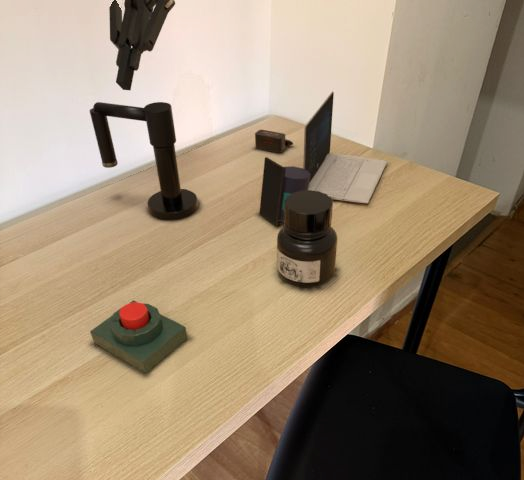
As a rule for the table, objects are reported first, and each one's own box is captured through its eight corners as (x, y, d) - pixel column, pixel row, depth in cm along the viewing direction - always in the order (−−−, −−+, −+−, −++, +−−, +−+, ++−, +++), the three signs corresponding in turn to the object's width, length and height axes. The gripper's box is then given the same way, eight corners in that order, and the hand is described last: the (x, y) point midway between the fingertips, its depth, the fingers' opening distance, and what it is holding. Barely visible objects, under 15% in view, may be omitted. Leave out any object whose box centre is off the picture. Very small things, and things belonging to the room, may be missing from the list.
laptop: (367, 206, 96) (376, 135, 87) (301, 196, 100) (303, 126, 91) (387, 164, 108) (396, 97, 99) (327, 155, 112) (331, 90, 103)
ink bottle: (264, 270, 83) (261, 200, 75) (303, 247, 87) (305, 179, 79) (309, 298, 78) (312, 226, 70) (348, 272, 82) (355, 202, 74)
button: (116, 323, 70) (113, 313, 68) (136, 308, 72) (133, 298, 70) (135, 333, 68) (132, 323, 67) (155, 318, 70) (152, 308, 69)
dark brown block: (284, 154, 113) (284, 139, 110) (254, 148, 115) (253, 134, 113) (293, 146, 116) (293, 131, 113) (264, 140, 118) (264, 126, 116)
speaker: (267, 229, 91) (271, 170, 85) (259, 214, 95) (262, 157, 89) (309, 226, 93) (316, 168, 86) (298, 211, 97) (305, 155, 91)
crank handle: (185, 170, 94) (176, 103, 86) (173, 181, 91) (162, 113, 83) (110, 158, 99) (95, 93, 91) (97, 168, 96) (80, 102, 88)
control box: (93, 343, 72) (86, 321, 70) (136, 311, 77) (130, 289, 74) (145, 373, 68) (140, 351, 65) (187, 338, 73) (183, 316, 70)
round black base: (138, 211, 97) (125, 147, 89) (172, 191, 102) (162, 128, 94) (174, 225, 93) (164, 160, 85) (207, 204, 99) (200, 140, 90)
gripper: (189, -28, 97) (164, 99, 98) (126, -30, 100) (102, 93, 101) (173, -60, 90) (146, 78, 90) (105, -61, 93) (79, 72, 93)
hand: (123, 86), depth 95 cm, fingers closed
